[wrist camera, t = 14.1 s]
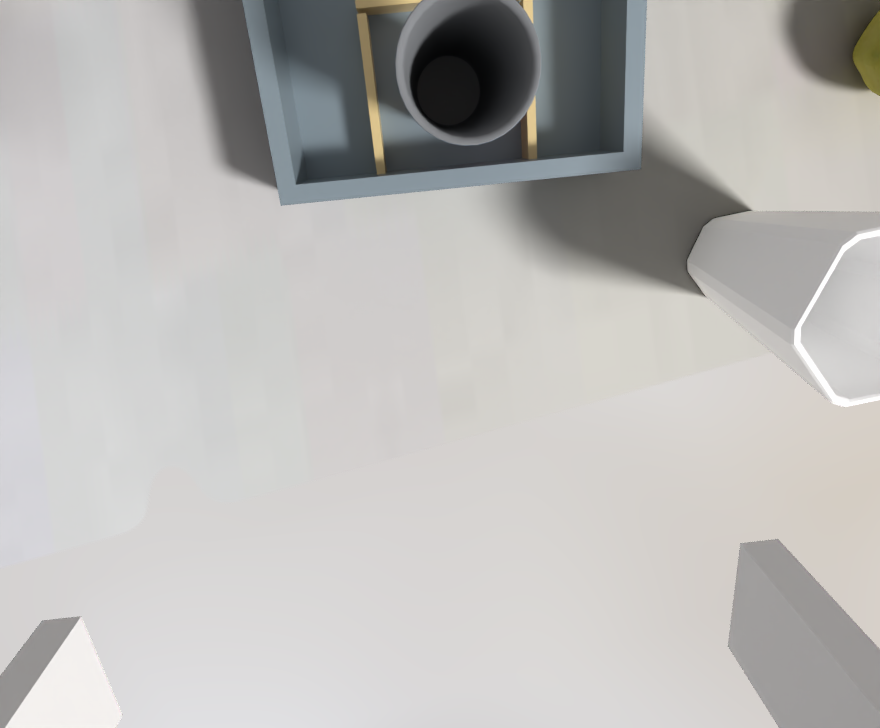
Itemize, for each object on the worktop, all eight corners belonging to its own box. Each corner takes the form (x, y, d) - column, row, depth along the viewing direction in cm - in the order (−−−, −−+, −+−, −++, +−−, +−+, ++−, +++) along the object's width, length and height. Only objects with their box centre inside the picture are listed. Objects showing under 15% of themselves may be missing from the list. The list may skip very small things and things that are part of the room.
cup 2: (641, 246, 46) (763, 303, 30) (750, 157, 44) (941, 168, 28) (713, 343, 50) (856, 439, 34) (817, 265, 48) (1022, 328, 32)
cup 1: (391, 45, 39) (382, -7, 25) (490, 29, 39) (535, -32, 25) (408, 150, 42) (408, 156, 28) (501, 135, 42) (547, 133, 28)
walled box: (238, -132, 36) (208, -181, 31) (616, -167, 37) (654, -222, 31) (297, 196, 44) (280, 205, 38) (611, 165, 44) (640, 169, 38)
